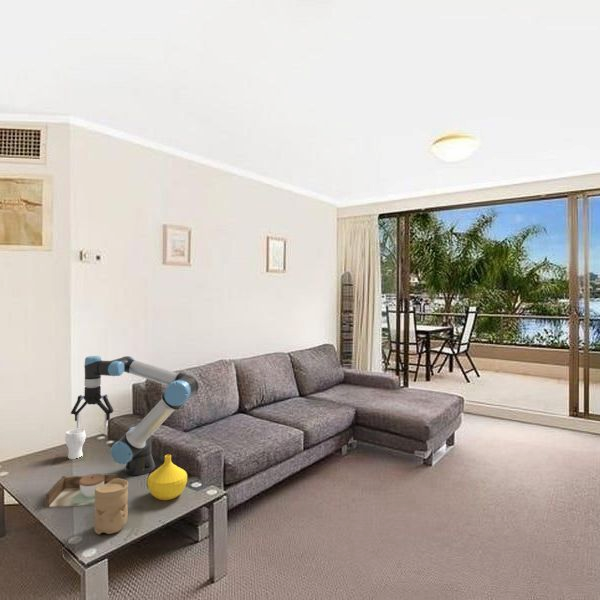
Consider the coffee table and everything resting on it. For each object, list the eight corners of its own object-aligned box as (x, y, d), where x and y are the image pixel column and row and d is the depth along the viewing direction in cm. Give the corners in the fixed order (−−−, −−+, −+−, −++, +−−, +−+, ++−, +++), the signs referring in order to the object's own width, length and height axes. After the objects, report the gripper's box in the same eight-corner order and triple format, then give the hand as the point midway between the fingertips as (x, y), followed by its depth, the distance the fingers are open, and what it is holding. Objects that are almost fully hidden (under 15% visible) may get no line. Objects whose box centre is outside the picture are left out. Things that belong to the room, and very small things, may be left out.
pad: (112, 487, 206) (112, 487, 206) (102, 502, 192) (102, 501, 192) (81, 489, 204) (81, 488, 204) (70, 503, 190) (70, 503, 190)
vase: (146, 490, 206) (146, 451, 206) (184, 483, 213) (184, 446, 213) (148, 508, 189) (148, 466, 189) (189, 500, 196) (190, 460, 196)
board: (118, 486, 210) (118, 484, 209) (106, 504, 192) (106, 503, 192) (62, 488, 206) (62, 487, 206) (45, 507, 188) (45, 506, 188)
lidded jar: (74, 496, 197) (74, 476, 196) (96, 487, 206) (96, 468, 206) (87, 502, 191) (87, 482, 191) (109, 493, 200) (109, 473, 200)
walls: (118, 486, 210) (118, 474, 209) (106, 504, 192) (106, 491, 192) (62, 488, 206) (62, 476, 206) (45, 507, 188) (45, 494, 188)
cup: (73, 452, 250) (73, 427, 250) (89, 453, 249) (89, 428, 248) (60, 459, 240) (60, 433, 239) (77, 461, 238) (77, 435, 238)
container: (87, 532, 169) (87, 488, 169) (111, 517, 181) (111, 476, 181) (111, 540, 165) (111, 494, 164) (134, 523, 177) (134, 481, 176)
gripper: (120, 384, 222) (119, 423, 223) (70, 384, 219) (69, 425, 220) (115, 387, 215) (115, 428, 216) (63, 388, 212) (63, 429, 212)
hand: (92, 426), depth 218 cm, fingers open, 13 cm apart
